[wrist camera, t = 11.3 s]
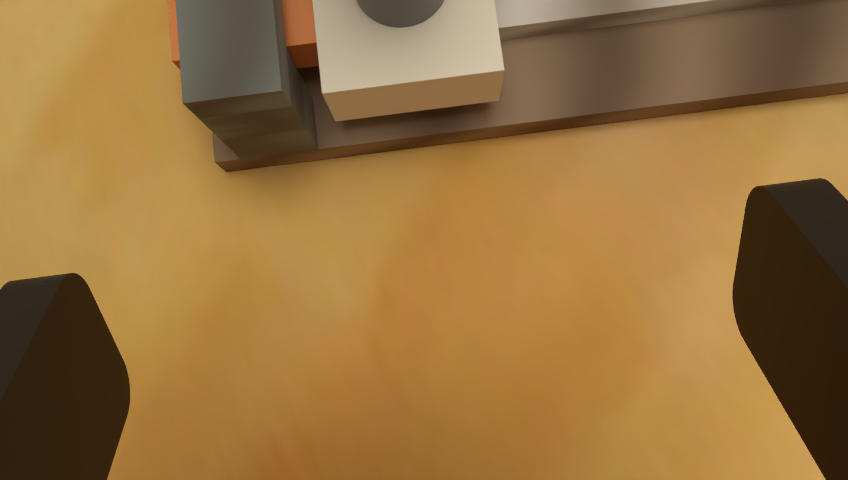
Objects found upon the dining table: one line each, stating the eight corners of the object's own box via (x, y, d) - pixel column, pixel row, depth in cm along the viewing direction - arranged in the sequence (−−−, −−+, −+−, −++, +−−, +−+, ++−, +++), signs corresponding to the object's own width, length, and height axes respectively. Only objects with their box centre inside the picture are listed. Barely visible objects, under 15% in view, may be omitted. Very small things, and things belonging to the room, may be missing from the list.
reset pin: (191, 82, 28) (172, 61, 26) (185, 5, 29) (166, -22, 27) (328, 64, 28) (318, 42, 26) (319, -13, 29) (310, -40, 27)
